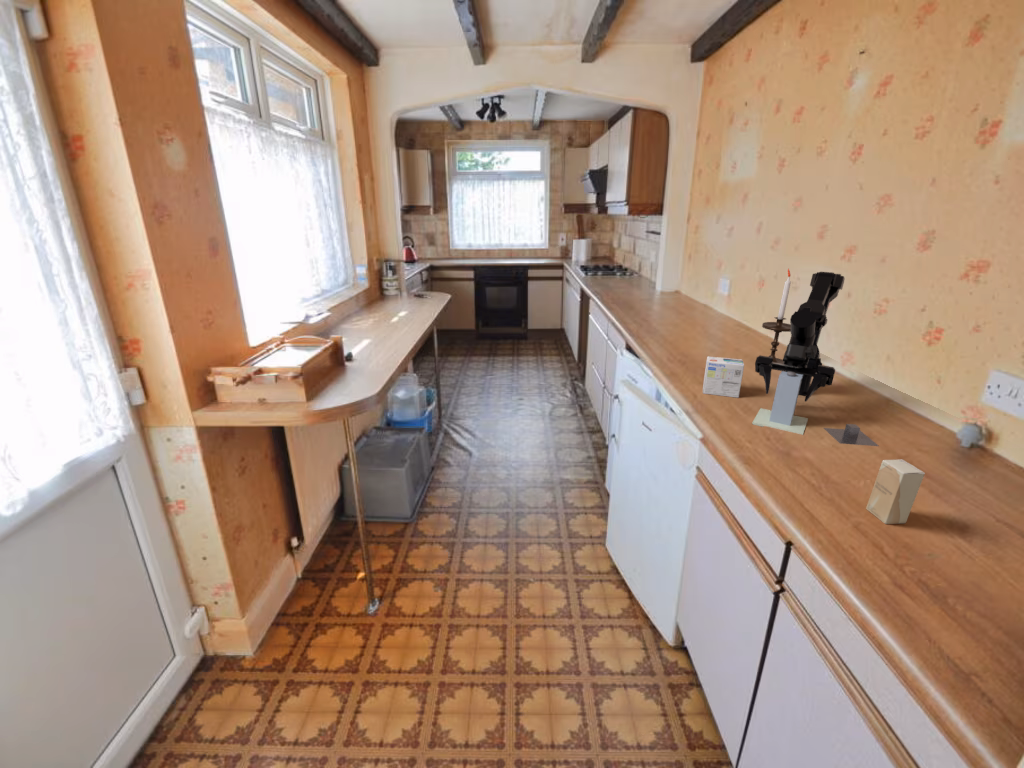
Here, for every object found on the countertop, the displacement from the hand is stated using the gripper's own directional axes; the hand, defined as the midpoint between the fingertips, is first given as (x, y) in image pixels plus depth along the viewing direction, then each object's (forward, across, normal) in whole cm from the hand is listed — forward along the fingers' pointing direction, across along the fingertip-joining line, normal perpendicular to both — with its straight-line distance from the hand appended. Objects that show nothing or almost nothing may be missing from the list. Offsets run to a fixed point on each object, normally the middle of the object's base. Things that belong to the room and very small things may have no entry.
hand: (785, 397), depth 130 cm
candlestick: (-36, -11, +48) cm, 61 cm away
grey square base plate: (+5, +16, +6) cm, 18 cm away
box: (+31, +23, -20) cm, 43 cm away
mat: (+5, 0, +6) cm, 8 cm away
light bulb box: (-4, -19, +16) cm, 25 cm away
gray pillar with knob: (+5, 0, +5) cm, 7 cm away
